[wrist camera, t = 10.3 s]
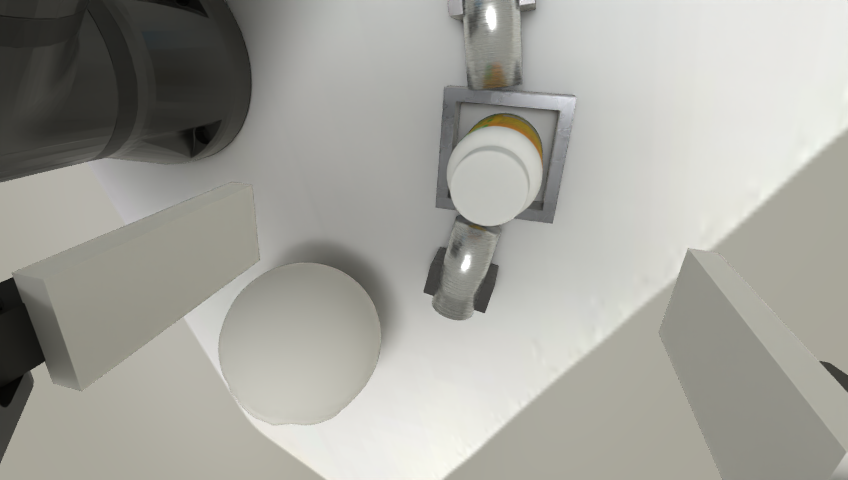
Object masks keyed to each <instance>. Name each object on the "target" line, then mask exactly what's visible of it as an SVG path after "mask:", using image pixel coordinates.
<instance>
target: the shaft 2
mask: <svg viewBox="0 0 848 480" xmlns="http://www.w3.org/2000/svg"><path fill="white" fill-rule="evenodd" d="M500 233H501V228H500V227H499V226H498V225H496V226H483V225H479V224H475V223H473V222H471V221H469V220H468V219H466V218H465V217H463V216H462V215H458V216H457V217H456V220H455V223H454V227H453V230H452V234H451V237H450V241H449V244H448V248H447V249H445V248H442V247H440V249H439V251H438V253H437V255H436V256H435V258H434V260H433V262H432V264H431V266H430V270H429V274H428V277H427V281H426V285H425V288H424V293H427V294H430V295H433V300H432V306H433V308H434V309H435V310H436V311H437V312H438V313H439V314H441V315H442V316H444V317H447V318H449V319H453V320H466V319H469V318H470V317H471V316H472V315H473V312H474V310H477V311H479V312H482V313H485V311H486V308H487V305H488V303H489V300H490V297H491V294H492V292H493V289H494V286H495V281H496V276H497V271H498V265H494V264H491V263H490V262H491V259H492V257H493V254H494V251H495V248H496V245H497V242H498V239H499V236H500Z"/></svg>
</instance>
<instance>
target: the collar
mask: <svg viewBox="0 0 848 480" xmlns="http://www.w3.org/2000/svg"><path fill="white" fill-rule="evenodd" d="M576 100H577V97H576V96H575V95H565V94H552V93H540V92H527V91H515V90H502V89H490V88H489V89H477V90H468V87H465V86H452V85H450V86H447V87H444V101H443V115H442V128H441V142H440V155H439V169H438V182H437V196H436V207H437V208H444V209H451V210H457V209H456V207H455V206H454V204H453V201H452V198H451V194H450V190H449V187H448V183H447V166H448V162H449V159H450V156H451V154H452V152H453V150H454V149H455V147H456V146H457V135H458V124H459V113H460V102H471V103H482V104H494V105H505V106H517V107H528V108H540V109H551V110H559V113H558V118H557V124H556V130H555V135H554V141H553V146H552V152H551V158H550V163H549V169H548V174H547V180H546V185H545V191H544V197H543V202H538V201H533V202H532V203H531V204H530V206H529V207H527V208H526V209H525V210H524V211H523V212H521V213H520V214H518V215H517V216H516V217H514V218H516V219H523V220H530V221H538V222H545V223H552V224H553V219H554V214H555V209H556V204H557V198H558V193H559V188H560V183H561V178H562V173H563V167H564V162H565V157H566V152H567V147H568V142H569V136H570V131H571V126H572V121H573V116H574V110H575V105H576Z"/></svg>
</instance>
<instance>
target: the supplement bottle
mask: <svg viewBox="0 0 848 480" xmlns="http://www.w3.org/2000/svg"><path fill="white" fill-rule="evenodd" d="M542 176H543V163H542V144H541V140H540V137H539V135H538V133H537V131H536V129H535V128H534V127H533V126H532V125H531V124H530V123H529V122H528V121H527V120H525V119H524V118H522V117H520V116H517V115H514V114H508V113H499V114H494V115H491V116H488V117H486V118H484V119H483V120H481V121H480V122H478V123H477V124H476V125H475V126H474V127H473V128H472V129H471V130H470V132H469V133H468V134H467V135H466V136H465V137H464V138H463V139H462V140H461V141H460V142H459V143H458V145H457V146H456V147H455V149H454V150H453V152H452V154H451V156H450V159H449V162H448V166H447V183H448V187H449V190H450V194H451V198H452V201H453V204H454V206H455V207H456V209H457V210H458V211H459V213H460V214H461V215H462V216H463V217H465V218H466V219H468V220H469V221H471V222H473V223H475V224H479V225H483V226H496V225H501V224H504V223H506V222H508V221H510V220H512V219H513V218H514V217H516V216H517V215H518V214H520V213H521V212H523V211H524V210H525V209H526V208H527V207H529V206H530V204H531V203H532V202H533V201H534V199H535V198H536V196H537V194H538V192H539V189H540V187H541V182H542Z"/></svg>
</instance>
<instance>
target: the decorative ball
mask: <svg viewBox="0 0 848 480" xmlns="http://www.w3.org/2000/svg"><path fill="white" fill-rule="evenodd" d="M380 347H381V328H380V322H379V317H378V314H377V311H376V308H375V306H374V304H373V302H372V300H371V298H370V297H369V295H368V294H367V292H366V291H365V290H364V289H363V288H362V286H361V285H360V284H359V283H358V282H356V281H355V280H354V279H353V278H352V277H350V276H349V275H347V274H346V273H344V272H342V271H340V270H338V269H336V268H333V267H330V266H327V265H323V264H318V263H307V262H304V263H293V264H287V265H283V266H280V267H277V268H274V269H272V270H270V271H268V272H266V273H264V274H262V275H261V276H259V277H257V278H256V279H255V280H253V281H252V282H251V283H250V284H249V285H247V286H246V287H245V288H244V289H243V290H242V291H241V293H240V294H239V295H238V296H237V298H236V299H235V300H234V302H233V303H232V305H231V307H230V309H229V311H228V313H227V315H226V317H225V320H224V323H223V326H222V329H221V333H220V337H219V348H218V352H219V361H220V365H221V370H222V373H223V376H224V378H225V380H226V382H227V383H228V386H229V389H230V391H231V393H232V395H233V396H234V398H235V399H236V400H237V401H238V402H239V404H240V405H241V406H242V407H243V408H244V409H245V410H246V411H247V412H248V413H249V414H250V415H252V416H253V417H255V418H256V419H259V420H262V421H264V422H267V423H269V424H271V425H284V424H297V425H313V424H317V423H321V422H324V421H327V420H329V419H331V418H333V417H334V416H336V415H337V414H338V413H339V412H340V411H341V410H342V409H343V408H345V407H346V406H347V405H348V404H349V403H350V402H351V401H352V400H353V399H354V398H355V397H356V396H357V395H358V394H359V393H360V392H361V390H362V389H363V388H364V387H365V385H366V384H367V382H368V381H369V379H370V377H371V375H372V374H373V371H374V369H375V367H376V364H377V361H378V357H379V353H380Z"/></svg>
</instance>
